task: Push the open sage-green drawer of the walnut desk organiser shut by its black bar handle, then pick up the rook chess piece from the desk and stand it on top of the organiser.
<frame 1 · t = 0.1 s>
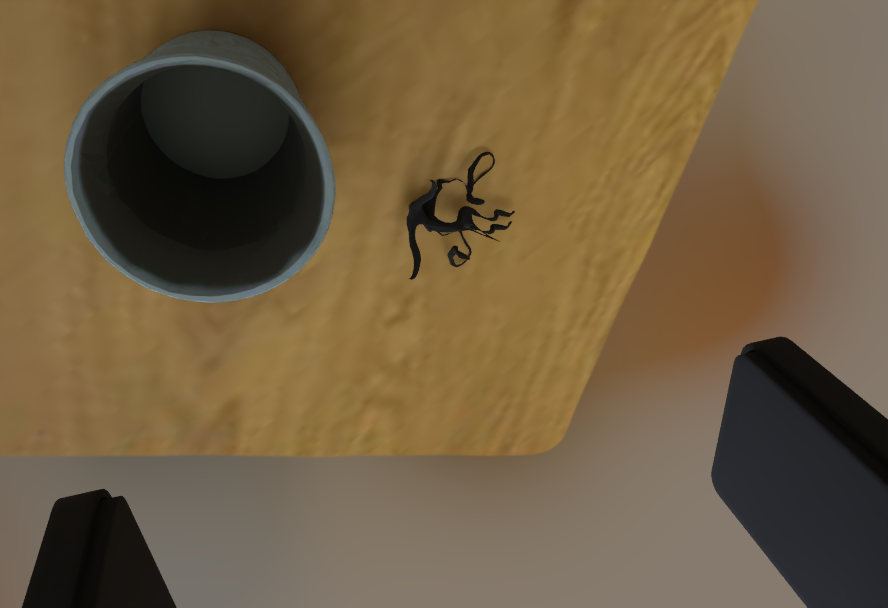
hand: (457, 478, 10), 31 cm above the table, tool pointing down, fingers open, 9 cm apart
creature: (456, 205, 43), on the table
grey green cup: (216, 108, 36), on the table
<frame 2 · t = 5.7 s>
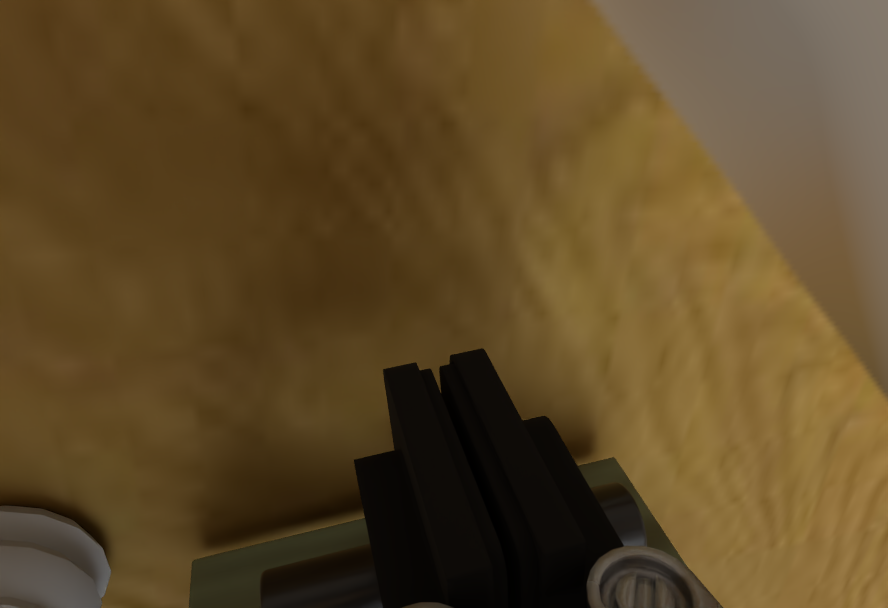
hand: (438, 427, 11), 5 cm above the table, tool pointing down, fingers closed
rook chess piece: (15, 555, 17), on the table
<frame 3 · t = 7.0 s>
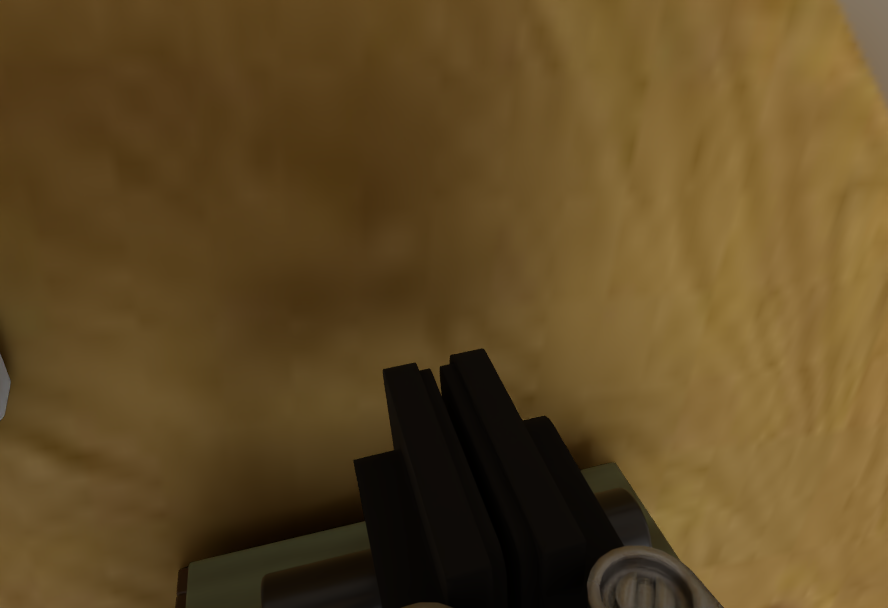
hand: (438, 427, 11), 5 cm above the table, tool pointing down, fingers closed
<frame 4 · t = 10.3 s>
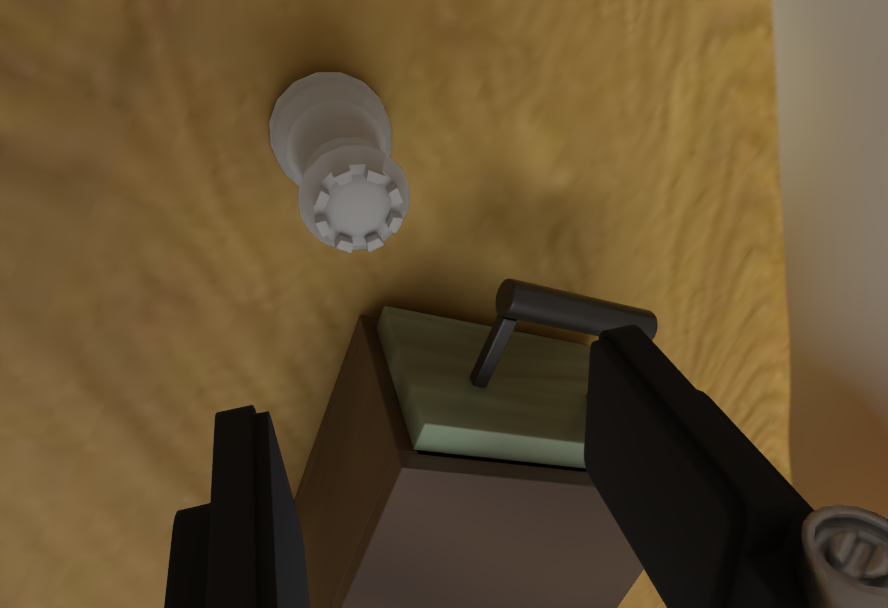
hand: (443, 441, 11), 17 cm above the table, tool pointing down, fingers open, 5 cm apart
drawer: (488, 459, 30), point 5 cm above the table, slide at 0.0 cm, touching cabinet
rook chess piece: (328, 127, 26), on the table
cabinet: (432, 452, 35), on the table
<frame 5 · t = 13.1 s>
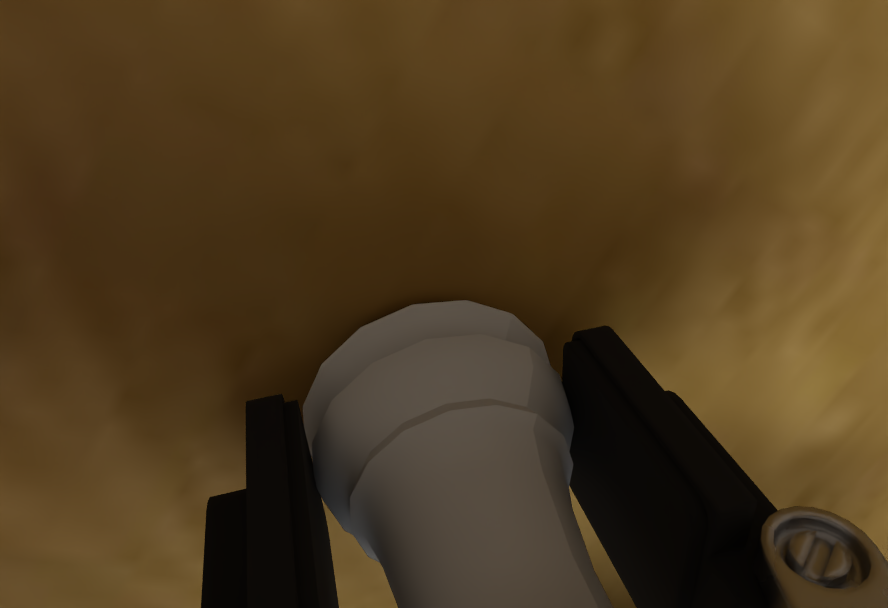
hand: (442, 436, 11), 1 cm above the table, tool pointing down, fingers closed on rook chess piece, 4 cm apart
rook chess piece: (424, 387, 12), on the table, touching gripper
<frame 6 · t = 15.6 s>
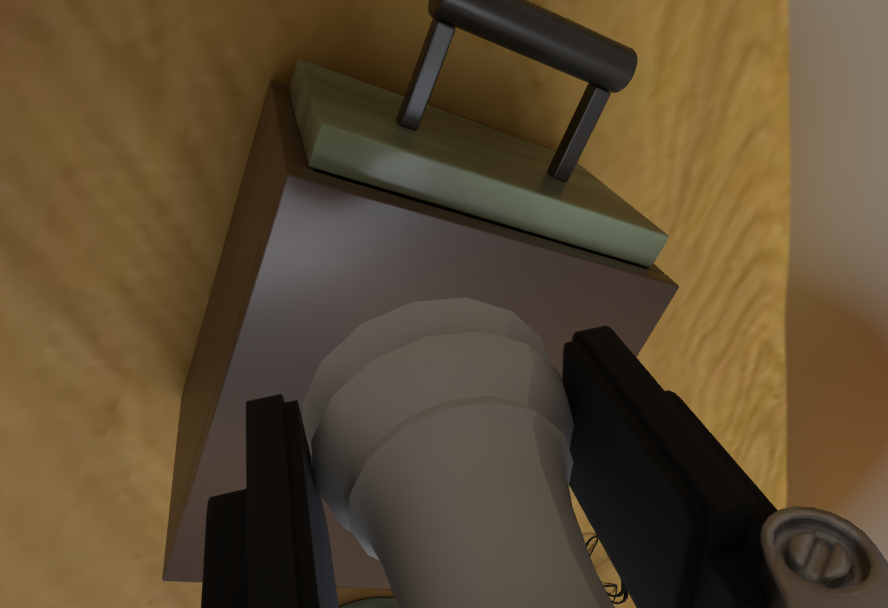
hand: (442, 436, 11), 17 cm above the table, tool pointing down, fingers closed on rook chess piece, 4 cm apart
drawer: (426, 261, 24), point 5 cm above the table, slide at 0.0 cm, touching cabinet
rook chess piece: (423, 385, 12), point 16 cm above the table, touching gripper
cabinet: (367, 290, 29), on the table
when the fingers open (11 cm above the table, at t = 18.1 s): rook chess piece stays where it is, resting on cabinet.
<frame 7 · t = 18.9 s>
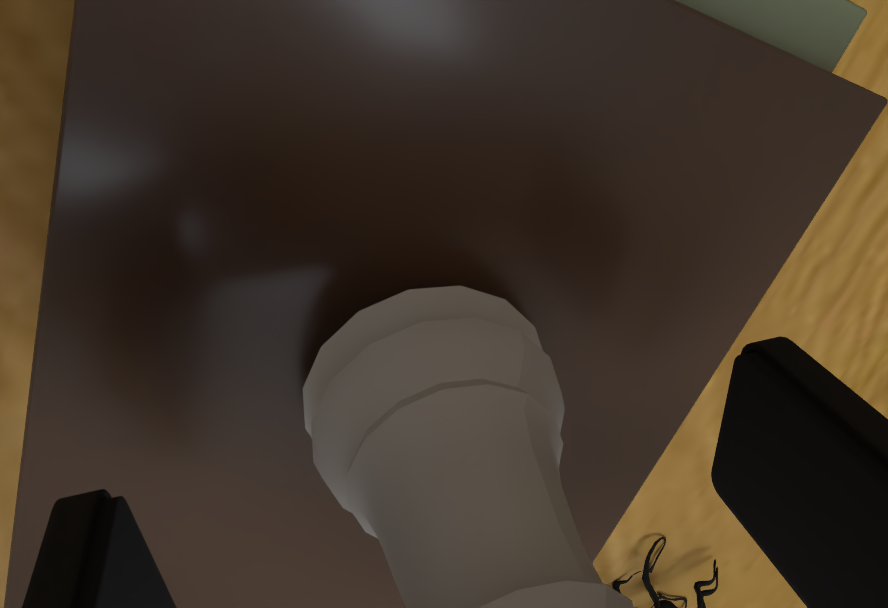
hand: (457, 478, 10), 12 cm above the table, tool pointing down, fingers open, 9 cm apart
creature: (645, 581, 36), on the table
drawer: (436, 103, 15), point 5 cm above the table, slide at 0.0 cm, touching cabinet
rook chess piece: (420, 371, 13), point 9 cm above the table, touching cabinet
cabinet: (354, 189, 20), on the table
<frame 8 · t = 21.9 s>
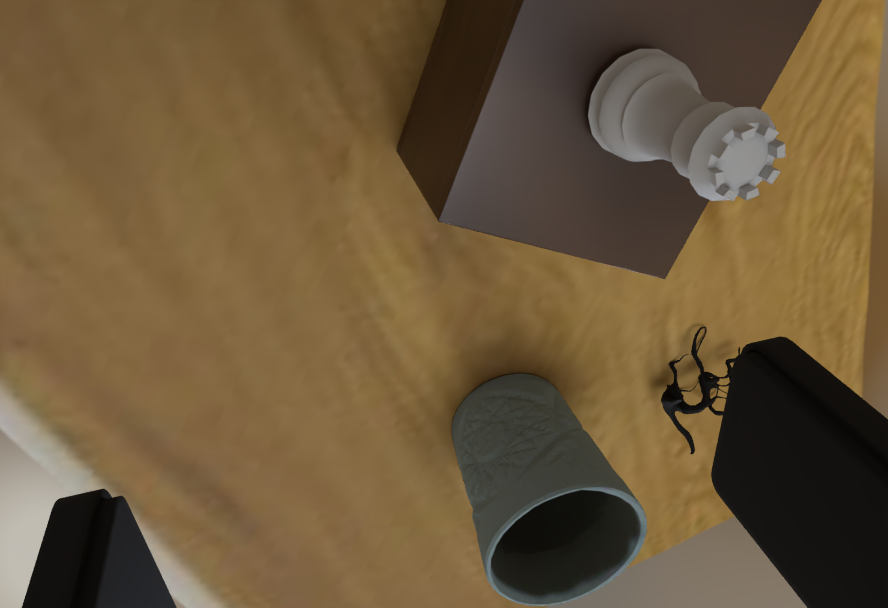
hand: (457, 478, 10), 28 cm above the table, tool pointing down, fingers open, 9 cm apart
creature: (690, 366, 52), on the table
grey green cup: (502, 417, 50), on the table
rook chess piece: (630, 100, 29), point 9 cm above the table, touching cabinet
cabinet: (547, 56, 36), on the table
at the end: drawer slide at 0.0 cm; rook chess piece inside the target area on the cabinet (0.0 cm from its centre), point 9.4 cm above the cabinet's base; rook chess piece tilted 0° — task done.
